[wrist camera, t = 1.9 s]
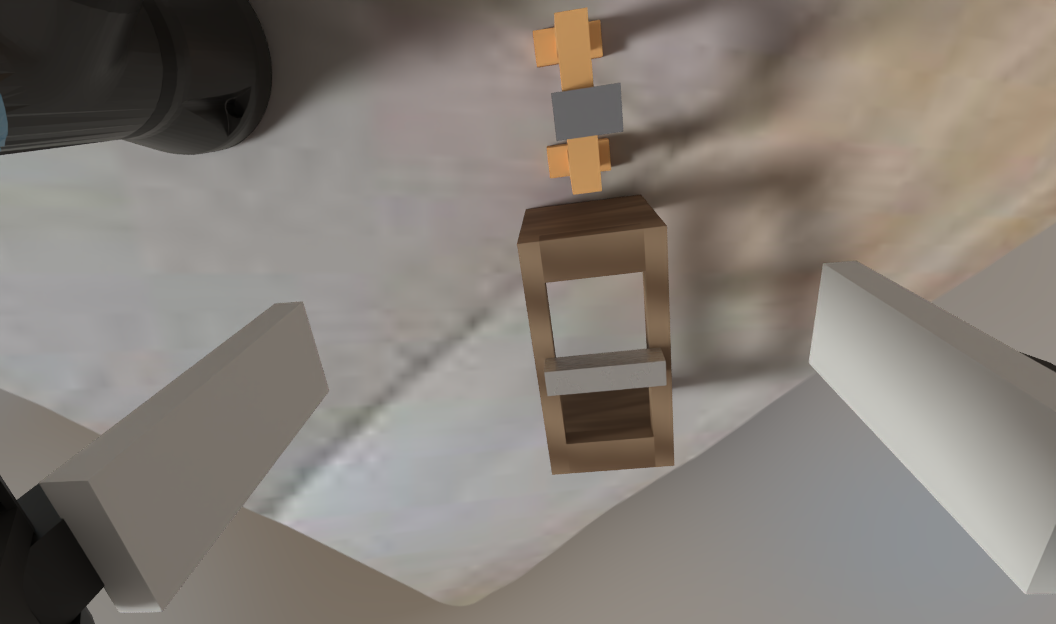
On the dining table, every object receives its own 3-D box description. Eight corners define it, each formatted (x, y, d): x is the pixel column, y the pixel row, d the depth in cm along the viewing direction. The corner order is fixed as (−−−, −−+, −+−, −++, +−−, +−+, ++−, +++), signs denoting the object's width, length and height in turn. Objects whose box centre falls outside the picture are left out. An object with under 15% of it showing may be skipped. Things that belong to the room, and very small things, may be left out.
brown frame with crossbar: (525, 209, 44) (517, 244, 34) (640, 194, 43) (666, 225, 33) (552, 400, 52) (552, 474, 42) (650, 391, 51) (674, 465, 41)
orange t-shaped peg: (533, 33, 39) (513, -21, 20) (598, 22, 38) (638, -43, 20) (550, 175, 43) (546, 237, 25) (609, 167, 42) (650, 225, 24)
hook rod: (544, 358, 37) (544, 372, 36) (660, 347, 37) (665, 360, 35) (547, 381, 38) (547, 396, 36) (661, 371, 37) (666, 385, 36)
